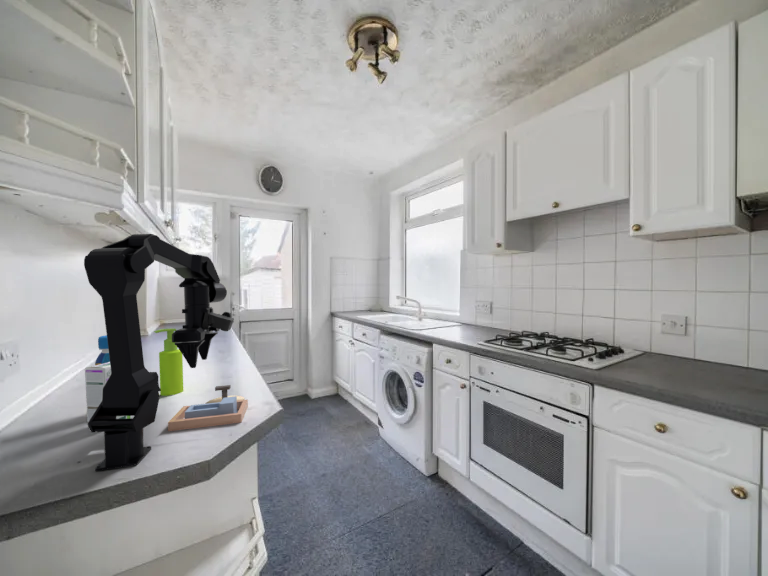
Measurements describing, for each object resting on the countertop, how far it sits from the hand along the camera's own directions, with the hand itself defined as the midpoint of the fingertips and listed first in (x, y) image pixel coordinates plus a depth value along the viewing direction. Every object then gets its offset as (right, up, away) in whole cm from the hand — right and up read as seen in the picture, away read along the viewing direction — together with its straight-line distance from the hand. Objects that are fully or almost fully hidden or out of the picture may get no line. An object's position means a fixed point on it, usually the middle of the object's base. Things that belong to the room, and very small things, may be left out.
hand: (199, 363), depth 85 cm
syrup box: (-17, -13, -8) cm, 23 cm away
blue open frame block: (+7, -12, -7) cm, 15 cm away
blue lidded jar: (-22, -13, +1) cm, 26 cm away
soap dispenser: (-16, -13, +13) cm, 24 cm away
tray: (+7, -12, -7) cm, 16 cm away
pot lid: (+5, -12, +4) cm, 14 cm away
